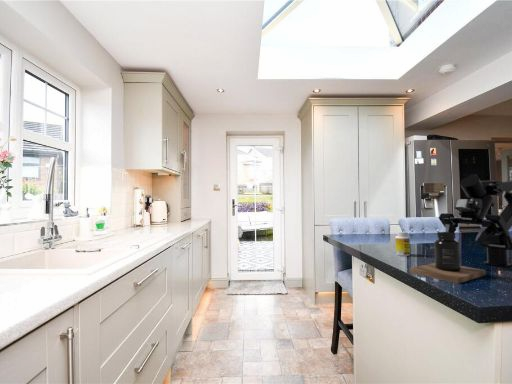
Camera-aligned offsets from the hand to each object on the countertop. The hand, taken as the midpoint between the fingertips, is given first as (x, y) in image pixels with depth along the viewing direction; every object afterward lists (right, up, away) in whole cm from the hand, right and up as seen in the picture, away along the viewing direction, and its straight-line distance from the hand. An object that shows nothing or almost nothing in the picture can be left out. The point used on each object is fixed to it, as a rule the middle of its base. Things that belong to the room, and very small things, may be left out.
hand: (460, 240), depth 92 cm
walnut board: (-7, -10, -4) cm, 13 cm away
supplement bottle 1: (-5, -12, +28) cm, 31 cm away
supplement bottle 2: (-7, -9, -3) cm, 12 cm away
